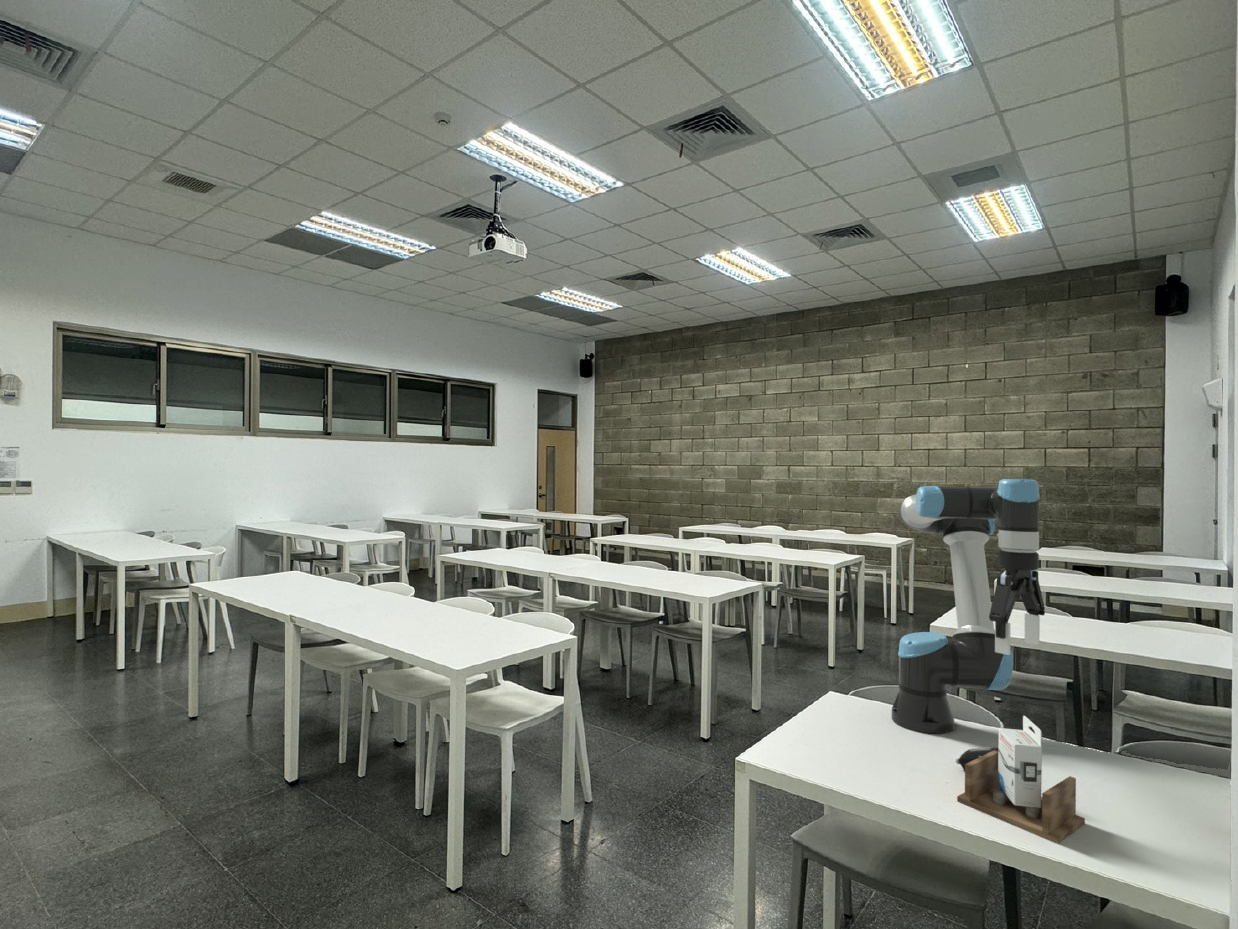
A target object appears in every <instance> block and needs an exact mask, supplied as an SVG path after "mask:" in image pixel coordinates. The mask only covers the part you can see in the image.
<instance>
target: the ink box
mask: <svg viewBox="0 0 1238 929" xmlns="http://www.w3.org/2000/svg"><path fill="white" fill-rule="evenodd" d="M1030 728H1032V730H1031V729H1030ZM1042 733H1043V732H1042V730H1041V729H1040V728H1039V726H1037V725H1036V724H1034V722H1032V721H1031V719H1029V718H1028V717H1027V716H1026V715H1023V716H1022V729H1015V728H1014V729H1013V728H1005V727H998V744H997V745H998V747H997V748H998V749H999V750H998V785H999V786H1000V788H1001V789H1002V790H1003V791H1004V793H1005V794H1006V795H1007V796H1008V798H1009V799H1010V800H1011V801H1012V803H1013V804H1014V805H1016V806H1026V807H1036V808H1041V799H1042V781H1043V780H1042V778H1043V777H1042V776H1043V775H1042V772H1043V770H1042V769H1043V768H1042V767H1043V764H1042V763H1043V762H1042V759H1043V758H1042V757H1043V748H1042V747H1043V745H1042V743H1043V742H1042V738H1043V737H1042V736H1043V734H1042Z"/></svg>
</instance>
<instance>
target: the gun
mask: <svg viewBox="0 0 1238 929" xmlns="http://www.w3.org/2000/svg"><path fill="white" fill-rule="evenodd" d="M994 750H995V751H998V750H999V749H998V747H990V746H989V747H980V748H977V747H976V748H970V749H968V750H965V751H964V752H963V753H962V754H960V756H959V758H957V759H955V763H956V765H960V766H961V768H962V769H963V771H964V772H965V764H967V763H969V762H971V761H973V760H975V759H977V758H979V757H981V756H983V755H985V754H987V753H989V752H991V751H994Z"/></svg>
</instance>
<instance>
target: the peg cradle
mask: <svg viewBox="0 0 1238 929" xmlns="http://www.w3.org/2000/svg"><path fill="white" fill-rule="evenodd" d="M1076 778H1077V777H1073V776H1071V775H1070V776H1068V777H1066V778H1065V779H1063V780H1061V781H1060V782H1058V783H1056V784H1055V785H1053V786H1052V787H1050V788H1048V789H1047V790H1045V791H1044V792H1041V808H1036V807H1026V806H1016V805H1014V804H1013V803H1012V801H1011V800H1010V799H1009V798H1008V796H1007V795H1006V794H1005V793H1004V791H1003V790H1002V789H1001V788H1000V786H999V785H998V751H995V750H994V751H991V752H989V753H987V754H985V755H983V756H981V757H979V758H977V759H975V760H973V761H971V762H969V763H967V764H965V771H964V792H962V793H961V794H959V795H957V799H956V800H957V802H959V803H960V804H963V805H965V806H968V807H969V808H972V809H974V810H977V811H979V812H981V813H984V814H987V815H989V816H991V817H994V818H996V819H998V820H1000V821H1002V822H1005V823H1007V824H1010V825H1012V826H1015V827H1018V828H1020V829H1022V830H1024V831H1027V832H1029V833H1031V834H1033V835H1037V836H1038V837H1040V838H1044V839H1045V840H1048V841H1050V842H1052V843H1055V844H1059V843H1061V842H1062V841H1063V840H1065V839H1066V838H1067V837H1070V835H1071V834H1073V833H1074V832H1075V831H1077V830H1078V829H1080V828H1081V827H1082V826H1084V825H1085V823H1086V822H1085V821H1086V818H1085V817H1082V816H1080V815H1077V813H1076V812H1077V809H1076V808H1077V805H1076V804H1077V779H1076Z"/></svg>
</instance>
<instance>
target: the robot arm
mask: <svg viewBox="0 0 1238 929" xmlns="http://www.w3.org/2000/svg"><path fill="white" fill-rule="evenodd" d="M1040 497H1041V494H1040V487H1039V482H1038V481H1037V480H1035V479H1025V478H1024V479H1023V478H1022V479H1021V478H1020V479H1019V478H1018V479H1017V478H1014V479H1013V478H1008V479H1007V478H1006V479H1005V478H1003V479H1000V480H999V482H998V486H941V485H940V486H938V485H929V486H923V485H922V486H920V487H919V488H917V491H916V494H912V495H910V496H907V497H906V498H905V499H903V500H902V502H901V503H900V505H899V509H898V511H899V517H900V519H901V521H902V523H904V525H906V526H907V527H909V528H910V529H912V530H916V531H917V532H922V533H927V534H937V535H938V534H939V535H942V541H943V542H944V544H946V545H948V546H949V550H950V551H949V552H950V562H951V563H950V564H951V571H952V582H953V593H954V600H955V601H954V602H955V611H956V612H955V613H956V614H955V615H956V622H957V624H956V625H957V630H956V631H955V632H954V633H953V634H952V636H951V637H952V640H949V639H948V637H947V636H946V635H945V634H943V633H941V632H940V633H939V632H932V631H931V632H930V631H922V632H912V633H908V634H905V635H903V636H902V637H901V638H900V640H899V643H898V644H899V648H898V652H897V653H898V692H897V695H896V697H895V700H894V702H893V705H892V706H891V707H892V708H891V720H892V721H893V722H894V723H896V725H899V726H901V727H903V728H906V729H909V730H912V731H916V732H921V733H927V734H944V733H945V734H946V733H949V732H952V731H953V730H954V729H955V719H954V718H955V716H953V715H954V714H953V711H952V708H951V705H950V702H949V700H948V694H947V693H948V692H947V691H948V690H947V689H948V687H956V688H967V689H969V688H970V689H980V690H985V691H989V690H990V691H991V690H995V691H1002V690H1005V689H1006V688H1008V686H1009V685H1010V683H1011V679H1012V677H1013V671H1014V654H1013V651H1012V647H1011V622H1009V619H1010V616H1011V614H1012V613H1013V609H1014V606H1015V604H1016V601H1017V599H1018V598H1020V599H1021V601H1022V603H1023V605H1024V608H1025V611H1026V613H1024V643H1025V644H1027V645H1032V646H1037V647H1038V646H1040V631H1041V630H1040V623H1041V622H1040V621H1041V619H1040V616H1045V613H1046V611H1045V609H1046V608H1045V603H1044V599H1043V594H1042V591H1041V586H1040V583H1039V582H1040V581H1039V571H1038V569H1039V568H1040V565H1039V564H1040V562H1039V561H1040V560H1039V559H1040V558H1039V557H1040V554H1039V553H1038V552H1037V550H1039V549H1040V528H1039V526H1040V523H1039V522H1040V499H1041V498H1040ZM996 520H998V521H997V522H998V524H997V525H998V527H997V528H998V532H997V534H996V537H997V538H998V540H997V541H998V544H997V547H998V548H999V549H1000V550H998V551H997V566H998V567H1000V568H1002V569H1004V570H1005V573H1004V574H1003V573H1002V574H1000V573H998V574H997V576H996V586H995V588H994V594H993V597H992V600H991V592H990V585H989V584H990V583H989V576H988V568H987V560H986V554H985V553H986V552H985V545H986V543H987V542H988V541H989V540H990V536H992V535H993V534H994V532H995V529H996V528H995V527H996V523H995V521H996Z"/></svg>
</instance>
